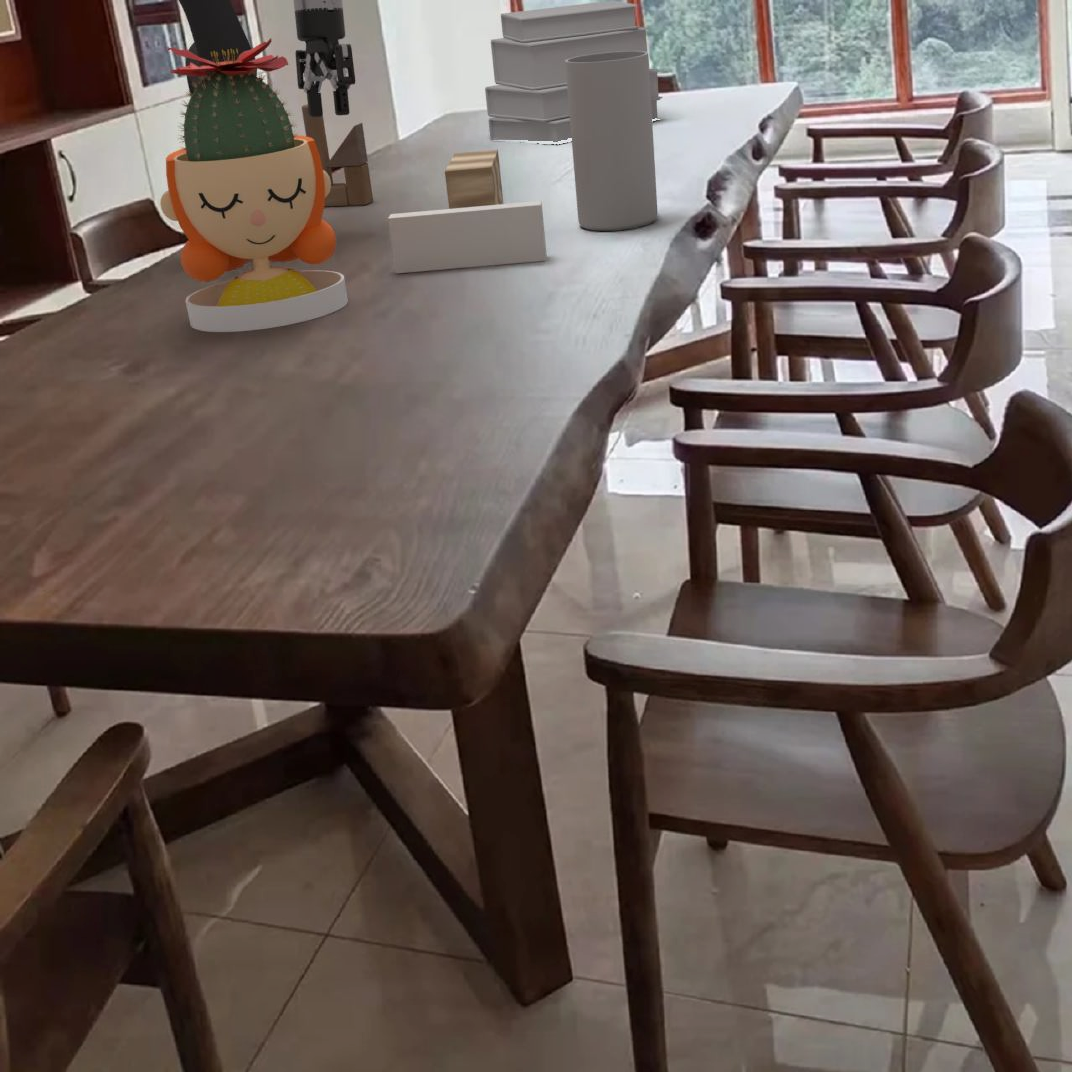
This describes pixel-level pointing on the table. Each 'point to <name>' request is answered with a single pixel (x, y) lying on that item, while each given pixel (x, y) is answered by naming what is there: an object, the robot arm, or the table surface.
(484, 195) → the maple block
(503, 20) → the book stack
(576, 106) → the cylinder vase
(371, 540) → the table surface
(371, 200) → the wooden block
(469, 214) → the board
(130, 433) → the table surface
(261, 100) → the potted cactus
